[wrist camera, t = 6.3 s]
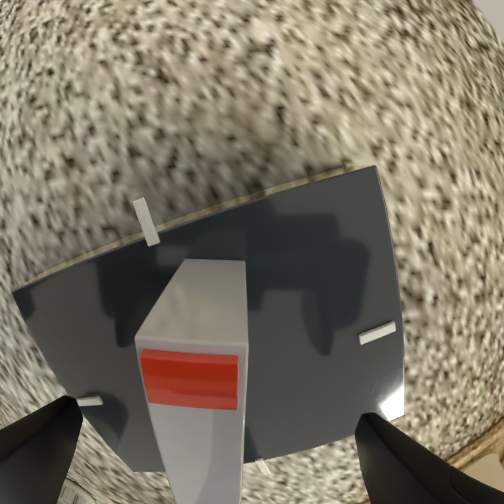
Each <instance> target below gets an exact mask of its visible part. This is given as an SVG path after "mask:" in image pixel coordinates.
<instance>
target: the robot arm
mask: <svg viewBox="0 0 504 504" xmlns="http://www.w3.org/2000/svg"><path fill="white" fill-rule="evenodd" d="M82 422H83V415H82V412H81V410H80V407H79V405H78V402H77V400H76V399H75V398H74V397H70V396H66V395H64V396H62V397H60V398H58V399H56V400H55V401H53V402H51V403H49V404H47V405H46V406H44V407H42V408H40V409H38V410H36V411H35V412H33V413H31V414H29V415H27V416H25V417H24V418H22V419H20V420H18V421H16V422H14V423H12V424H10V425H9V426H7V427H5V428H3V429H1V430H0V504H57V502H58V499H59V496H60V493H61V490H62V487H63V484H64V481H65V478H66V475H67V473H68V470H69V467H70V465H71V462H72V459H73V456H74V453H75V449H76V445H77V441H78V437H79V433H80V429H81V426H82ZM355 440H356V445H357V450H358V456H359V461H360V467H361V472H362V476H363V480H364V483H365V486H366V489H367V492H368V496H369V499H370V502H371V504H504V492H502V491H500V490H497V489H495V488H493V487H490V486H488V485H486V484H484V483H481V482H480V481H478V480H476V479H474V478H472V477H469V476H468V475H466V474H465V473H463V472H461V471H460V470H458V469H457V468H455V467H454V466H451V465H450V464H449V463H447V462H446V461H444V460H443V459H441V458H440V457H438V456H437V455H435V454H434V453H432V452H431V451H429V450H428V449H426V448H425V447H423V446H422V445H421V444H419V443H418V442H416V441H415V440H413V439H412V438H410V437H409V436H408V435H406V434H405V433H403V432H402V431H400V430H399V429H398V428H396V427H395V426H393V425H392V424H391V423H389V422H388V421H387V420H385V419H384V418H382V417H381V416H380V415H378V414H377V413H375V412H368V413H363V414H362V415H361V416H360V419H359V422H358V424H357V427H356V429H355Z"/></svg>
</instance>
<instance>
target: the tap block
mask: <svg viewBox="0 0 504 504" xmlns="http://www.w3.org/2000/svg"><path fill="white" fill-rule="evenodd" d="M133 205H134V208H135V211H136V214H137V217H138V220H139V222H140V225H141V228H142V231H141V232H138V233H136V234H133V235H130V236H128V237H125V238H122V239H120V240H117V241H115V242H112V243H110V244H107V245H105V246H102V247H100V248H97V249H95V250H92V251H90V252H87V253H85V254H83V255H80V256H78V257H75V258H73V259H71V260H68V261H66V262H64V263H61V264H59V265H57V266H54V267H52V268H50V269H47V270H46V271H44V272H42V273H41V274H39V275H37V276H35V277H34V278H32V279H30V280H29V281H27V282H25V283H24V284H22V285H20V286H19V287H17V288H15V289H14V290H12V295H13V297H14V299H15V302H16V304H17V306H18V308H19V310H20V312H21V314H22V317H23V319H24V321H25V323H26V325H27V327H28V329H29V330H30V332H31V334H32V336H33V338H34V340H35V342H36V343H37V345H38V347H39V349H40V351H41V352H42V354H43V356H44V357H45V359H46V361H47V362H48V364H49V366H50V367H51V369H52V371H53V372H54V374H55V375H56V377H57V378H58V380H59V381H60V383H61V384H62V386H63V387H64V389H65V390H66V392H67V393H68V395H69V396H70V397H74V398H75V399H76V400H77V402H78V405H79V407H80V410H81V412H82V414H83V415H84V416H85V418H86V419H87V420H88V421H89V423H90V424H91V425H92V426H93V428H94V429H95V430H96V431H97V433H98V434H99V435H100V436H101V437H102V438H103V440H104V441H105V442H106V443H107V444H108V445H109V446H110V448H111V449H112V450H113V451H114V452H115V453H116V454H117V455H118V456H119V457H120V458H121V460H122V461H123V462H124V463H125V464H126V465H127V466H128V467H129V468H130V469H131V470H132V471H133V472H165V469H164V466H163V463H162V459H161V456H160V453H159V449H158V446H157V442H156V438H155V435H154V431H153V427H152V423H151V419H150V415H149V411H148V406H147V402H146V397H145V393H144V388H143V383H142V378H141V373H140V368H139V362H138V356H137V350H136V344H135V335H136V333H137V332H138V330H139V328H140V327H141V325H142V324H143V322H144V320H145V319H146V317H147V316H148V314H149V312H150V311H151V309H152V308H153V306H154V305H155V303H156V301H157V300H158V298H159V297H160V295H161V294H162V292H163V291H164V289H165V287H166V286H167V284H168V283H169V281H170V280H171V278H172V277H173V275H174V274H175V272H176V271H177V269H178V268H179V266H180V265H181V263H182V262H183V260H184V259H210V260H237V261H245V262H246V284H247V309H248V334H249V355H248V376H247V396H246V416H245V436H244V456H243V464H245V463H251V462H255V463H256V464H257V466H258V467H259V469H260V471H261V472H262V474H263V475H265V474H270V470H269V469H268V467H267V465H266V464H265V462H264V460H266V459H271V458H276V457H280V456H285V455H289V454H293V453H297V452H301V451H305V450H308V449H312V448H315V447H319V446H322V445H325V444H329V443H332V442H335V441H338V440H341V439H344V438H347V437H350V436H353V435H355V429H356V427H357V424H358V422H359V419H360V416H361V415H362V414H363V413H368V412H375V413H377V414H378V415H380V416H381V417H382V418H384V419H385V420H387V421H391V420H393V419H395V418H398V417H400V416H402V415H404V402H405V364H404V339H403V323H402V311H401V300H400V291H399V282H398V274H397V267H396V260H395V253H394V247H393V241H392V235H391V230H390V224H389V219H388V214H387V209H386V204H385V200H384V195H383V191H382V187H381V182H380V178H379V174H378V170H377V167H376V166H375V165H366V166H346V167H341V168H337V169H333V170H329V171H326V172H322V173H319V174H315V175H311V176H308V177H304V178H301V179H297V180H294V181H291V182H287V183H284V184H280V185H277V186H274V187H270V188H267V189H264V190H261V191H257V192H254V193H251V194H248V195H245V196H242V197H238V198H235V199H232V200H229V201H226V202H223V203H220V204H217V205H214V206H211V207H208V208H205V209H202V210H199V211H196V212H194V213H191V214H188V215H185V216H182V217H179V218H176V219H174V220H171V221H168V222H165V223H162V224H160V225H157V226H154V223H153V221H152V218H151V215H150V212H149V209H148V206H147V203H146V200H145V198H144V197H143V198H140V199H138V200H135V201H133Z"/></svg>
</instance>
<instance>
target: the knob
mask: <svg viewBox="0 0 504 504" xmlns="http://www.w3.org/2000/svg"><path fill="white" fill-rule="evenodd" d="M135 344H136V350H137V356H138V362H139V368H140V373H141V378H142V383H143V388H144V393H145V397H146V402H147V406H148V411H149V415H150V419H151V423H152V427H153V431H154V435H155V438H156V442H157V446H158V449H159V453H160V456H161V459H162V463H163V466H164V469H165V472H166V475H167V478H168V481H169V484H170V487H171V490H172V493H173V496H174V499H175V501H176V504H241V495H242V475H243V456H244V436H245V416H246V396H247V376H248V355H249V334H248V309H247V284H246V262H245V261H237V260H210V259H184V260H183V262H182V263H181V265H180V266H179V268H178V269H177V271H176V272H175V274H174V275H173V277H172V278H171V280H170V281H169V283H168V284H167V286H166V287H165V289H164V291H163V292H162V294H161V295H160V297H159V298H158V300H157V301H156V303H155V305H154V306H153V308H152V309H151V311H150V312H149V314H148V316H147V317H146V319H145V320H144V322H143V324H142V325H141V327H140V328H139V330H138V332H137V333H136V335H135Z"/></svg>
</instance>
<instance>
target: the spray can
mask: <svg viewBox="0 0 504 504" xmlns="http://www.w3.org/2000/svg"><path fill="white" fill-rule="evenodd" d="M57 504H96V502H95V500H94V498H93V497H91V496H90V495H89V494H88V492H86V491H85V490H83V489H82V488H81V487H79V486H78V485H77V484H75V483H74V482H71V481H69V480H68V479H66V478H65V481H64V484H63V487H62V490H61V493H60V496H59V499H58V502H57Z"/></svg>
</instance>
